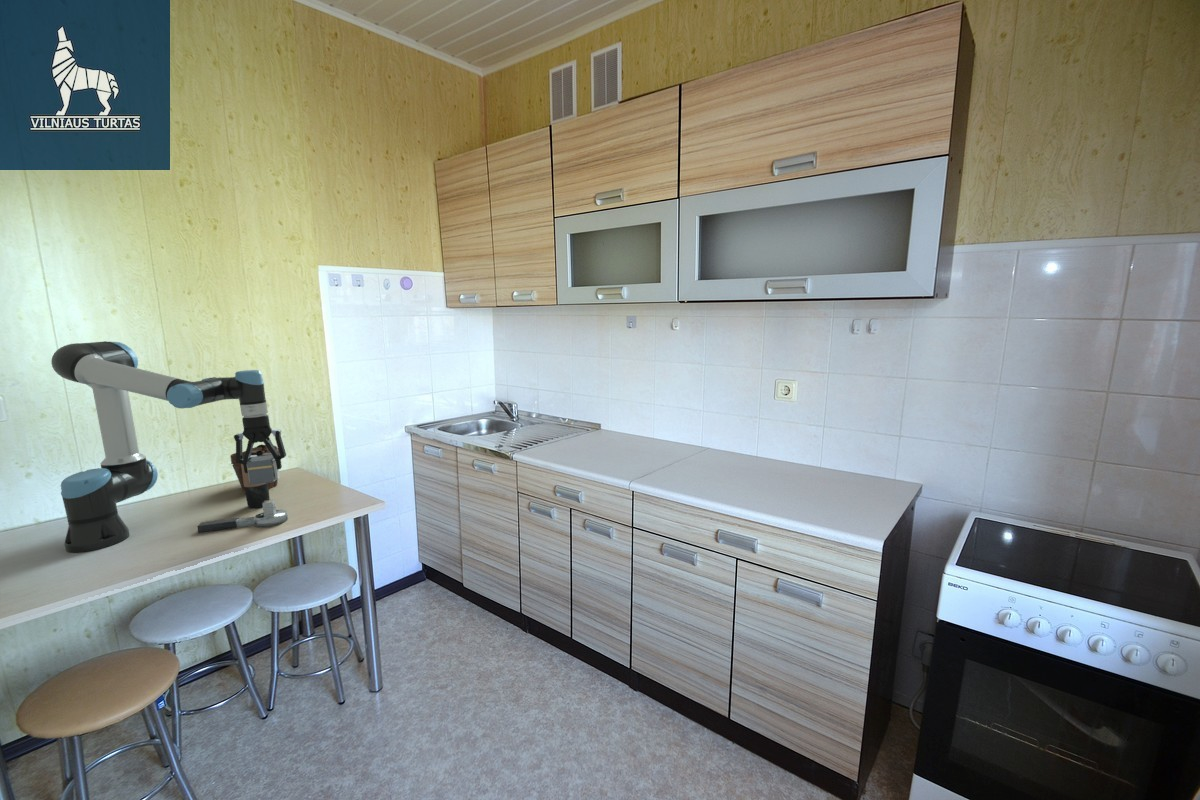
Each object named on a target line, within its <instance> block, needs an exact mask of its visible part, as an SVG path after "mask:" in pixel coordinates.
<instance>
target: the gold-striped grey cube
mask: <svg viewBox="0 0 1200 800" xmlns="http://www.w3.org/2000/svg"><path fill="white" fill-rule="evenodd" d="M274 460H275V459H274V457H273V456H272V455H267V456H258V457H252V458H251V459H250V460H249V461H248V462H247V466H248V473H249V479H250V485H253V484H261V483H270V482H274V481H275V480H276V479H275V472H274V465H273V461H274Z"/></svg>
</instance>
